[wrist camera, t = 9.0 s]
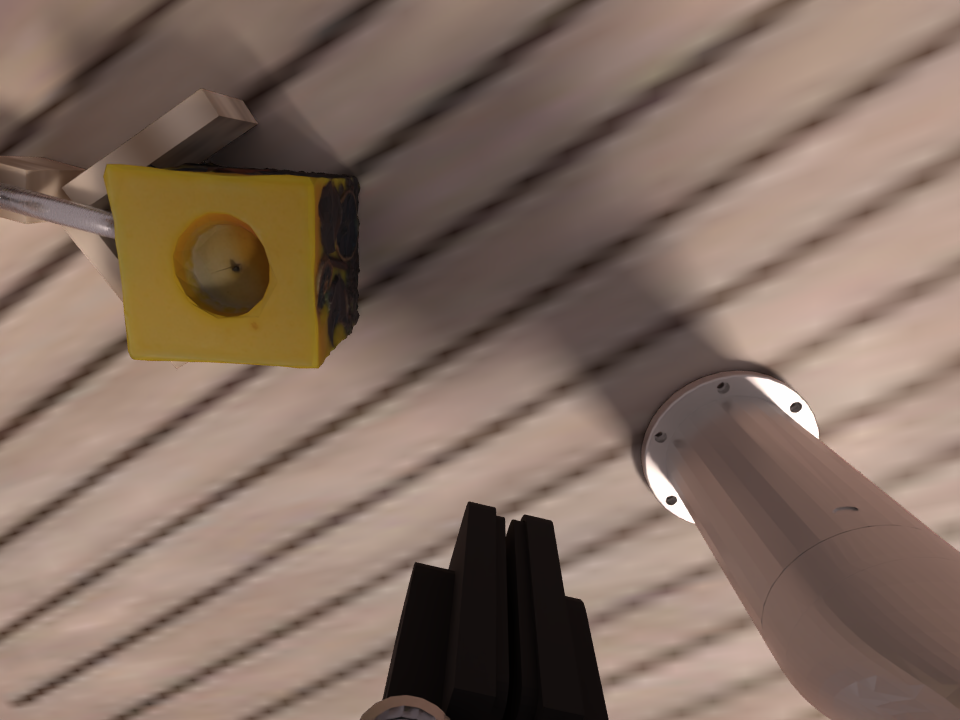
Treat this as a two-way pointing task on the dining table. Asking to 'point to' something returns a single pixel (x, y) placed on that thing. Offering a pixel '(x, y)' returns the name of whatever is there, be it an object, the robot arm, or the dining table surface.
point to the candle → (235, 262)
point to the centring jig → (162, 144)
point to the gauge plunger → (56, 210)
